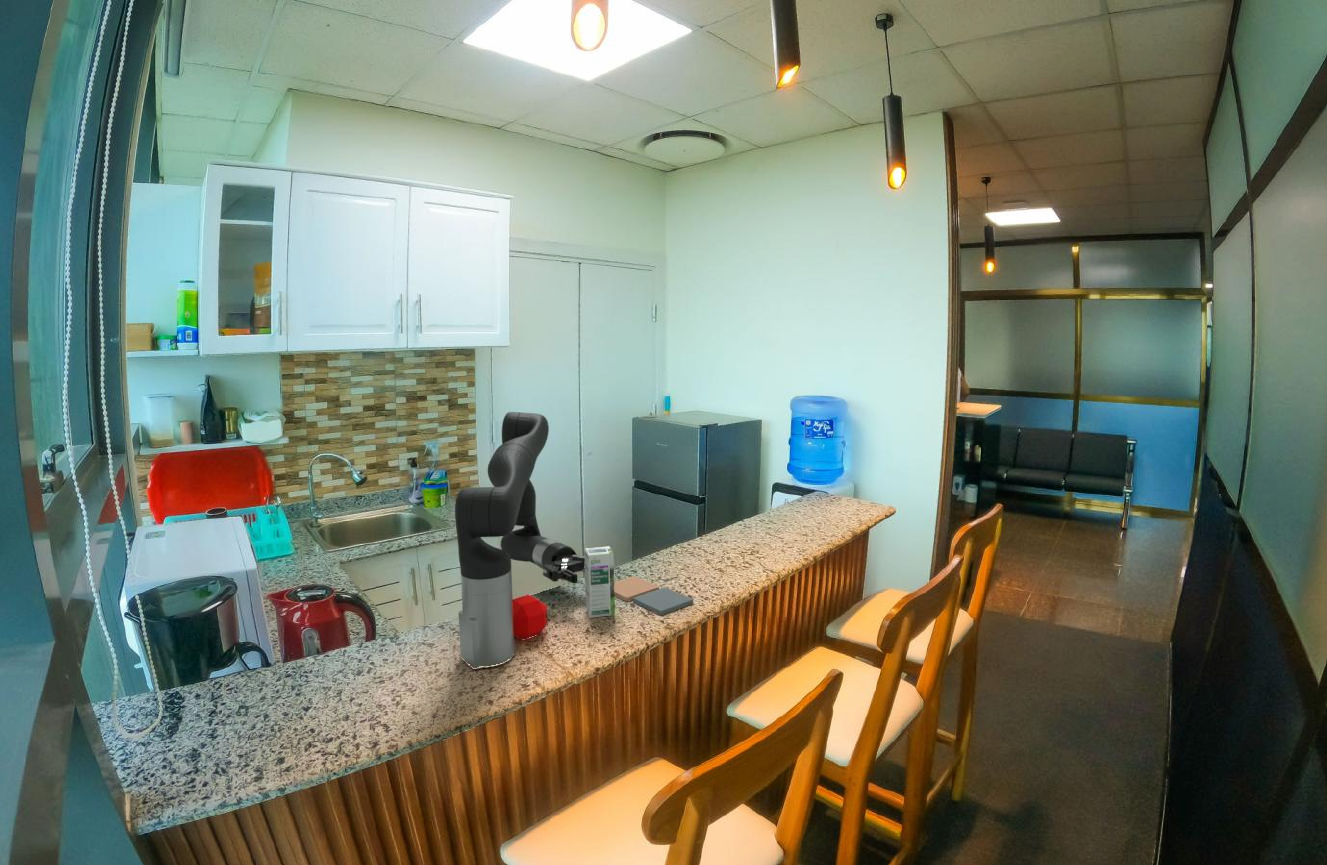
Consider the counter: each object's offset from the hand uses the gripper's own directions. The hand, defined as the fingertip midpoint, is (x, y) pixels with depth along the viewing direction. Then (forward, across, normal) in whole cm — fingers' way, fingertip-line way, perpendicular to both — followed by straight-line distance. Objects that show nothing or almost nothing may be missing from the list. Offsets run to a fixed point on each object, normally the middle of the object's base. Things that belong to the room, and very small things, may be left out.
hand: (592, 574), depth 142 cm
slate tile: (+8, +14, +8) cm, 18 cm away
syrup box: (+3, 0, +8) cm, 9 cm away
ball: (+2, -18, +8) cm, 20 cm away
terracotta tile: (-3, +13, +8) cm, 16 cm away
